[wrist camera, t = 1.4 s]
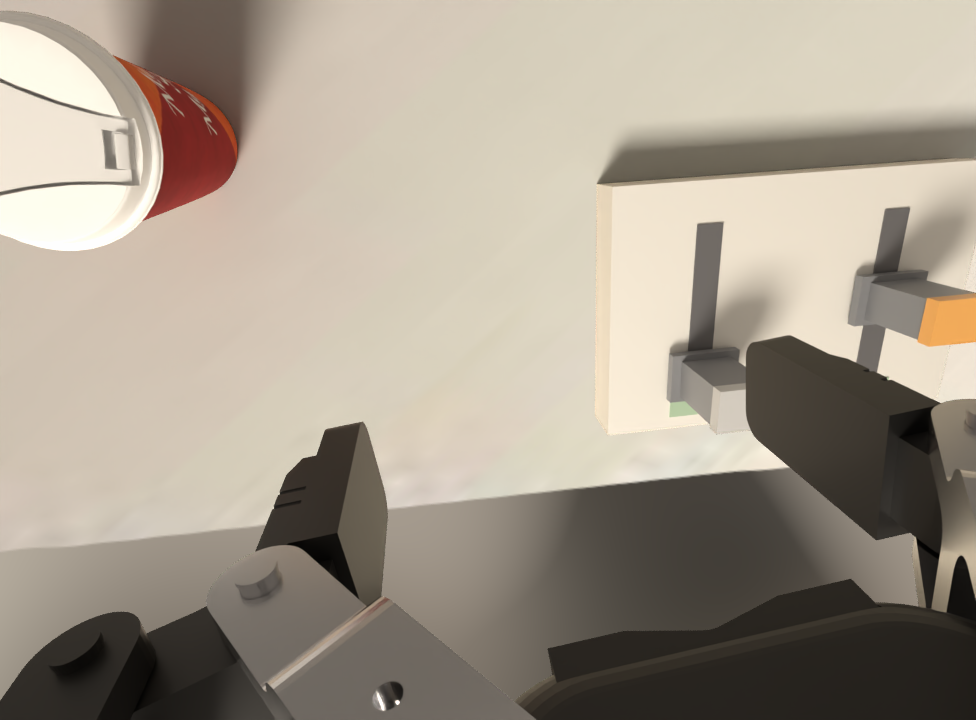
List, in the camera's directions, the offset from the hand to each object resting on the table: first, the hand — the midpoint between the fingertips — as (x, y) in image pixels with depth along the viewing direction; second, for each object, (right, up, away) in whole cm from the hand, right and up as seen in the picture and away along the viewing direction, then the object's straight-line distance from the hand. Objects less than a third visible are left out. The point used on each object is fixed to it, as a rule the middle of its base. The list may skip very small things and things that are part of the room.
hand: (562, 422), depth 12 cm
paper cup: (-18, +13, +20) cm, 30 cm away
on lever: (+12, 0, +25) cm, 28 cm away
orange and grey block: (+24, +5, +24) cm, 35 cm away
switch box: (+18, +6, +27) cm, 33 cm away
